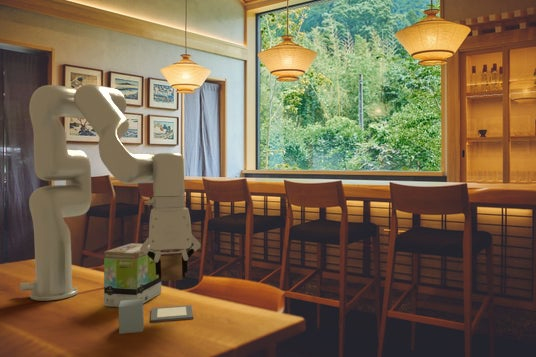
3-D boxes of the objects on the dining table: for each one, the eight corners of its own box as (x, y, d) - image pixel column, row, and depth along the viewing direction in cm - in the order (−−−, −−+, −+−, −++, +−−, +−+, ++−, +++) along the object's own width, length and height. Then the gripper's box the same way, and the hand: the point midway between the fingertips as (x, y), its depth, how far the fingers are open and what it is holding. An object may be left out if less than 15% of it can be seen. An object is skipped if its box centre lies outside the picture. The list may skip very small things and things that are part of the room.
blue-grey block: (119, 333, 106) (118, 306, 105) (121, 326, 110) (120, 300, 110) (142, 331, 107) (142, 305, 106) (143, 324, 112) (143, 299, 111)
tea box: (138, 308, 124) (137, 252, 124) (103, 307, 126) (101, 251, 126) (162, 293, 139) (161, 242, 138) (130, 292, 141) (129, 242, 140)
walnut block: (161, 280, 115) (160, 256, 115) (161, 276, 120) (160, 252, 120) (182, 279, 116) (181, 254, 116) (181, 275, 121) (181, 251, 121)
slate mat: (150, 322, 113) (150, 319, 113) (151, 309, 123) (151, 307, 123) (193, 318, 115) (193, 316, 115) (191, 306, 125) (191, 304, 125)
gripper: (132, 205, 113) (135, 282, 113) (205, 202, 116) (207, 277, 116) (134, 203, 120) (137, 276, 120) (203, 200, 123) (205, 271, 124)
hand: (171, 275), depth 118 cm, fingers closed on walnut block, 5 cm apart
